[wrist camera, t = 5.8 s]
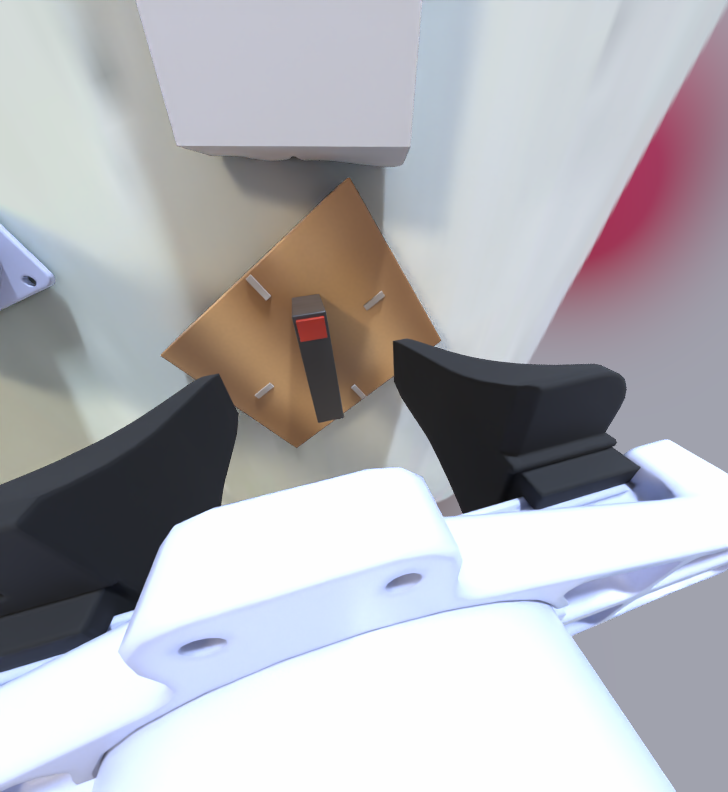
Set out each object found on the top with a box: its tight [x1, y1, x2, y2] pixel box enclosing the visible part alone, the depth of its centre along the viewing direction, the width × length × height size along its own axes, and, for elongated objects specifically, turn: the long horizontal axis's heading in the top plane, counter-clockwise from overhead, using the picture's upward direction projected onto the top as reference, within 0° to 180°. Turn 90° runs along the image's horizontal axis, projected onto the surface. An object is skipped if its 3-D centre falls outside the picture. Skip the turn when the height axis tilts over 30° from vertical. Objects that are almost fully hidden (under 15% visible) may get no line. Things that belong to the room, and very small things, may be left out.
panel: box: [161, 177, 441, 448], centre depth 18 cm, size 14×11×3 cm
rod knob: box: [292, 294, 344, 423], centre depth 15 cm, size 6×2×4 cm, turn 5°
